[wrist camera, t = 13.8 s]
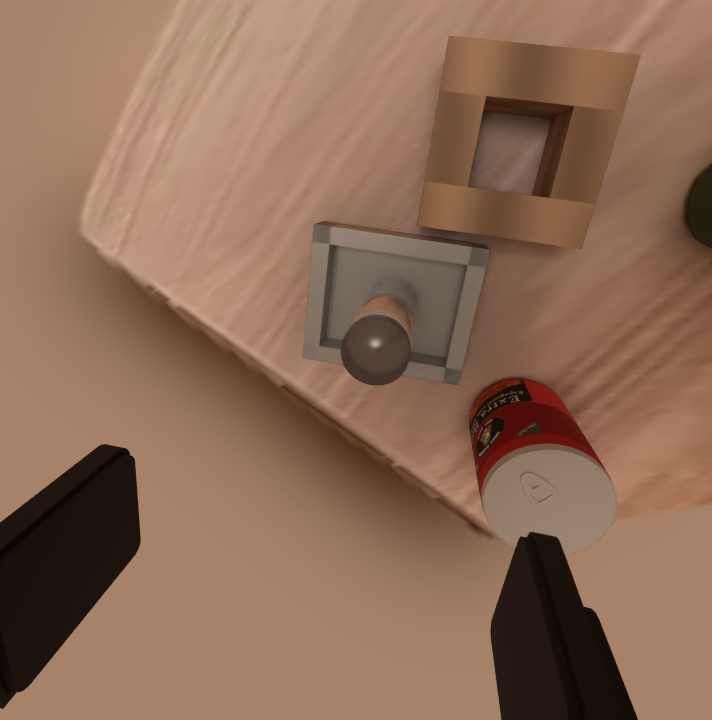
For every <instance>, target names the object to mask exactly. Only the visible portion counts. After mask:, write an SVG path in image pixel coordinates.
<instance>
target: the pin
mask: <svg viewBox="0 0 712 720" xmlns="http://www.w3.org/2000/svg"><path fill="white" fill-rule="evenodd" d="M416 302H417V298H416V293H415V291H414V289H413V287H412V286H411V285H410V284H409V283H408V282H407V281H406V280H404V279H402V278H399V277H387V278H384V279H382V280H380V281H378V282H377V283H376V284H375V285H374V287H373V288H372V290H371V292H370V293H369V295H368V297H367V298H366V300H365V302H364V304H363V305H362V307H361V309H360V310H359V312H358V314H357V316H356V317H355V319H354V321H353V322H352V324H351V326H350V328H349V329H348V331H347V333H346V334H345V336H344V338H343V341H342V344H341V358H342V361H343V364H344V366H345V368H346V369H347V371H348V372H349V373H350V374H351V375H352V376H353V377H354V378H355V379H357V380H359V381H361V382H363V383H365V384H369V385H384V384H388V383H391V382H393V381H395V380H396V379H397V378H399V377H400V376H401V375H402V374H403V373H404V371H405V370H406V368H407V366H408V364H409V360H410V352H411V344H412V335H413V327H414V319H415V310H416Z"/></svg>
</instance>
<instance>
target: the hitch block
mask: <svg viewBox="0 0 712 720" xmlns="http://www.w3.org/2000/svg"><path fill="white" fill-rule="evenodd" d="M640 56H641V55H634V54H624V53H614V52H604V51H594V50H584V49H574V48H564V47H554V46H545V45H535V44H525V43H515V42H505V41H495V40H485V39H475V38H465V37H455V36H449V38H448V44H447V50H446V56H445V62H444V68H443V74H442V79H441V85H440V91H439V97H438V103H437V109H436V115H435V121H434V127H433V133H432V139H431V145H430V151H429V157H428V162H427V168H426V174H425V180H424V186H423V192H422V198H421V204H420V210H419V216H418V222H417V226H422V227H429V228H436V229H443V230H450V231H457V232H464V233H471V234H478V235H485V236H492V237H499V238H506V239H513V240H520V241H527V242H534V243H541V244H548V245H555V246H562V247H569V248H576V249H582V246H583V243H584V240H585V236H586V233H587V230H588V226H589V223H590V220H591V217H592V213H593V210H594V207H595V204H596V200H597V197H598V194H599V190H600V187H601V184H602V181H603V177H604V174H605V171H606V167H607V164H608V161H609V158H610V154H611V151H612V148H613V145H614V141H615V138H616V135H617V131H618V128H619V125H620V122H621V118H622V115H623V112H624V109H625V105H626V102H627V99H628V95H629V92H630V89H631V86H632V82H633V79H634V76H635V73H636V69H637V66H638V63H639V59H640ZM483 111H488V112H497V113H505V114H514V115H522V116H531V117H540V118H548V119H552V120H551V124H550V128H549V132H548V136H547V140H546V144H545V147H544V151H543V155H542V159H541V163H540V167H539V171H538V175H537V179H536V183H535V187H534V191H533V195H532V196H531V195H523V194H516V193H508V192H501V191H493V190H486V189H478V188H471V187H468V183H469V178H470V173H471V168H472V163H473V158H474V153H475V148H476V143H477V138H478V133H479V128H480V123H481V118H482V114H483Z"/></svg>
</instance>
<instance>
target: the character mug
mask: <svg viewBox="0 0 712 720" xmlns="http://www.w3.org/2000/svg"><path fill="white" fill-rule="evenodd" d="M688 222H689V224H690V227H691V229H692V232H693V234H694V236H695V239H697V240H699V241H700V242H702V243H704V244H706V245H707V246H709V247H711V248H712V165H711V166H710V167H709V168H708V169H707V170H705V171H704V172H703V173H702V174H701V175H700V177H699V179H698V181H697V183H696V185H695V187H694V189H693V191H692V193H691V196H690V198H689V212H688Z"/></svg>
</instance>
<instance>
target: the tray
mask: <svg viewBox="0 0 712 720" xmlns="http://www.w3.org/2000/svg"><path fill="white" fill-rule="evenodd" d="M489 252H490V249H489V248H488V247H487V246H486V245H484V244H477V243H470V242H464V241H457V240H450V239H443V238H436V237H429V236H422V235H415V234H408V233H401V232H395V231H388V230H381V229H374V228H367V227H360V226H353V225H346V224H339V223H332V222H326V221H323V222H320V223H316V224H314V232H313V244H312V255H311V267H310V278H309V290H308V301H307V313H306V324H305V336H304V347H303V358H306V359H311V360H317V361H323V362H328V363H334V364H340V365H344V364H343V361H342V358H341V344H342V341H343V338H344V336H345V334H346V333H347V331H348V329H349V328H350V326H351V324H352V322H353V321H354V319H355V317H356V316H357V314H358V312H359V310H360V309H361V307H362V305H363V304H364V302H365V300H366V298H367V297H368V295H369V293H370V292H371V290H372V288H373V287H374V285H375V284H376V283H377V282H378V281H380V280H382V279H384V278H387V277H399V278H402V279H404V280H406V281H407V282H408V283H409V284H410V285H411V286H412V287H413V289H414V291H415V293H416V298H417V302H416V310H415V319H414V327H413V335H412V344H411V352H410V360H409V364H408V366H407V368H406V370H405V371H404V373H403V374H402V376H408V377H414V378H419V379H425V380H431V381H436V382H442V383H448V384H453V385H459V381H460V377H461V373H462V368H463V364H464V360H465V355H466V351H467V347H468V342H469V338H470V334H471V329H472V325H473V321H474V317H475V312H476V308H477V304H478V299H479V295H480V291H481V286H482V282H483V278H484V273H485V269H486V265H487V260H488V256H489Z"/></svg>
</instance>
